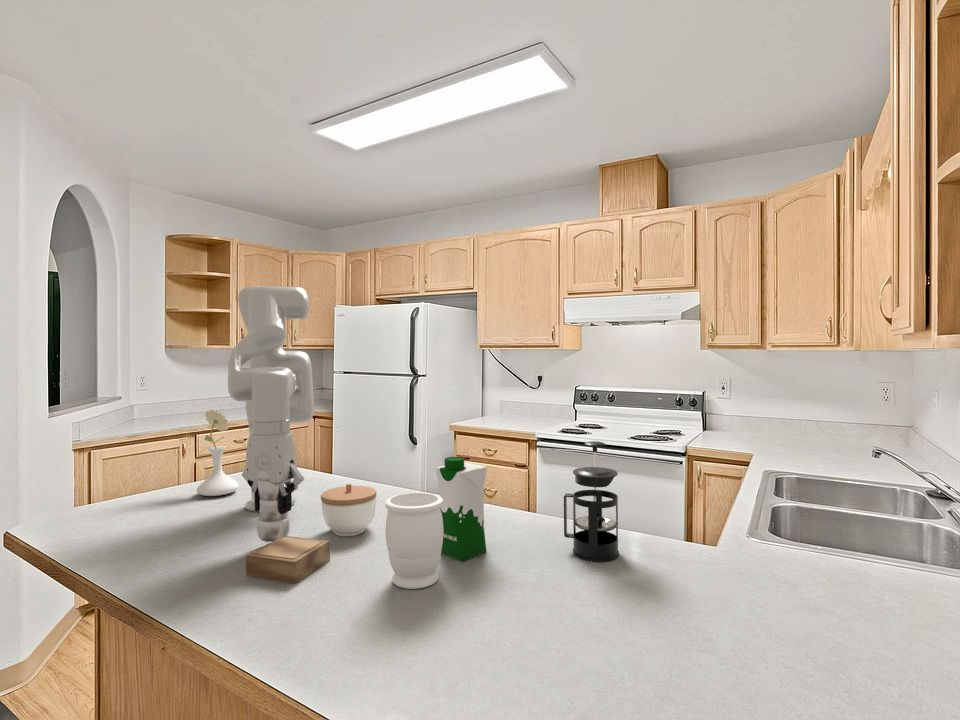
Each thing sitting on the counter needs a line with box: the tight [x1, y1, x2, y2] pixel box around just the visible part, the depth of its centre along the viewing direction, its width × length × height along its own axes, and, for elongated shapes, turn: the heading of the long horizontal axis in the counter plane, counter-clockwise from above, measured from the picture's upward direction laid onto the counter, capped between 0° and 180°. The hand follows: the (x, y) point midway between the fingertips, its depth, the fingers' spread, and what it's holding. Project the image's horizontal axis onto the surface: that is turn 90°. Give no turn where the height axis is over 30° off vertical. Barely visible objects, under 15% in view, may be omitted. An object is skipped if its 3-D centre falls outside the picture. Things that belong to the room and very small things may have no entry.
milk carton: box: [435, 456, 488, 562], centre depth 112 cm, size 9×9×20 cm
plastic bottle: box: [256, 470, 291, 543], centre depth 116 cm, size 6×7×20 cm
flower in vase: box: [196, 408, 240, 497], centre depth 160 cm, size 13×11×25 cm
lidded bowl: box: [320, 483, 377, 537], centre depth 126 cm, size 13×13×11 cm
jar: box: [385, 492, 443, 590], centre depth 99 cm, size 11×10×15 cm
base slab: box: [245, 535, 331, 584], centre depth 105 cm, size 11×11×4 cm
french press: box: [563, 440, 620, 563], centre depth 111 cm, size 12×9×23 cm
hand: (273, 509), depth 116 cm, fingers closed on plastic bottle, 5 cm apart
